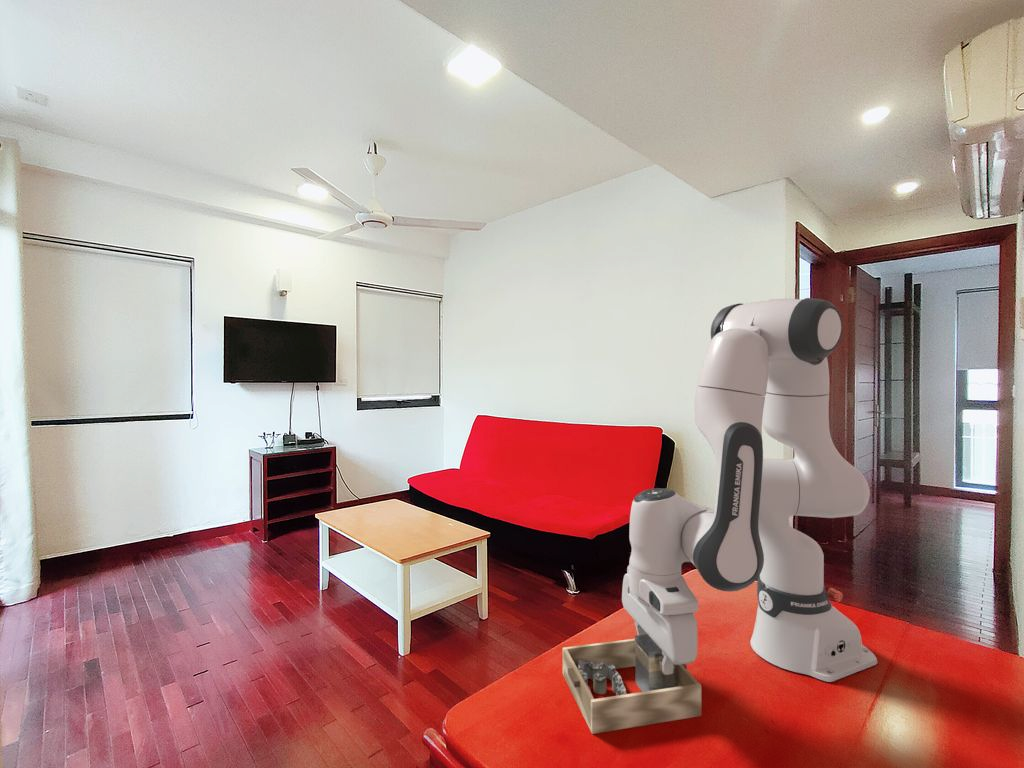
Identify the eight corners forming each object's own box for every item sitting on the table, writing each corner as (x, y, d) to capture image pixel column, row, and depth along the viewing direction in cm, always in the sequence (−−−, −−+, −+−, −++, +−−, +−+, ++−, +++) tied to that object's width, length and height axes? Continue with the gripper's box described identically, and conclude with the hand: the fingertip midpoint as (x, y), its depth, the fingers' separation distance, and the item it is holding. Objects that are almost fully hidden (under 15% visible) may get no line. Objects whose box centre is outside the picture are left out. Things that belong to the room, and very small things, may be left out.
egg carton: (629, 721, 76) (629, 697, 76) (582, 719, 76) (582, 695, 76) (617, 678, 86) (617, 657, 86) (577, 677, 87) (577, 655, 87)
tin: (634, 682, 85) (634, 635, 85) (660, 678, 86) (660, 632, 86) (648, 701, 80) (648, 652, 80) (676, 697, 81) (676, 648, 81)
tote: (659, 660, 91) (659, 635, 91) (706, 715, 77) (706, 684, 77) (558, 674, 87) (558, 648, 87) (586, 734, 73) (586, 703, 72)
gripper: (613, 560, 92) (613, 629, 93) (668, 611, 72) (668, 699, 72) (643, 557, 94) (643, 625, 94) (705, 606, 74) (704, 693, 74)
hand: (654, 658), depth 83 cm, fingers open, 6 cm apart
